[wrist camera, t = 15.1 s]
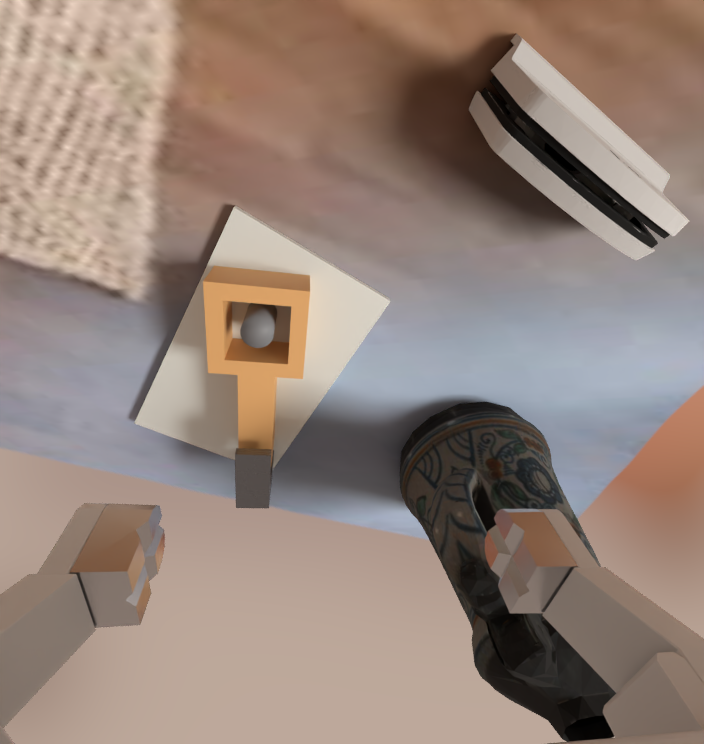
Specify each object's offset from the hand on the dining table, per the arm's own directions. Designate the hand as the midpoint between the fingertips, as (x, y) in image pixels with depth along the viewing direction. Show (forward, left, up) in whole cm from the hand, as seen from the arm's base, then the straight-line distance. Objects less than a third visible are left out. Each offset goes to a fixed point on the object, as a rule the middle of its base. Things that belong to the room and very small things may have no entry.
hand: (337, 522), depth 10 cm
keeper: (+4, -19, -27) cm, 33 cm away
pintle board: (0, -12, -27) cm, 29 cm away
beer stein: (+25, -12, -27) cm, 39 cm away
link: (+1, -11, -26) cm, 28 cm away
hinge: (+12, +16, -27) cm, 34 cm away
